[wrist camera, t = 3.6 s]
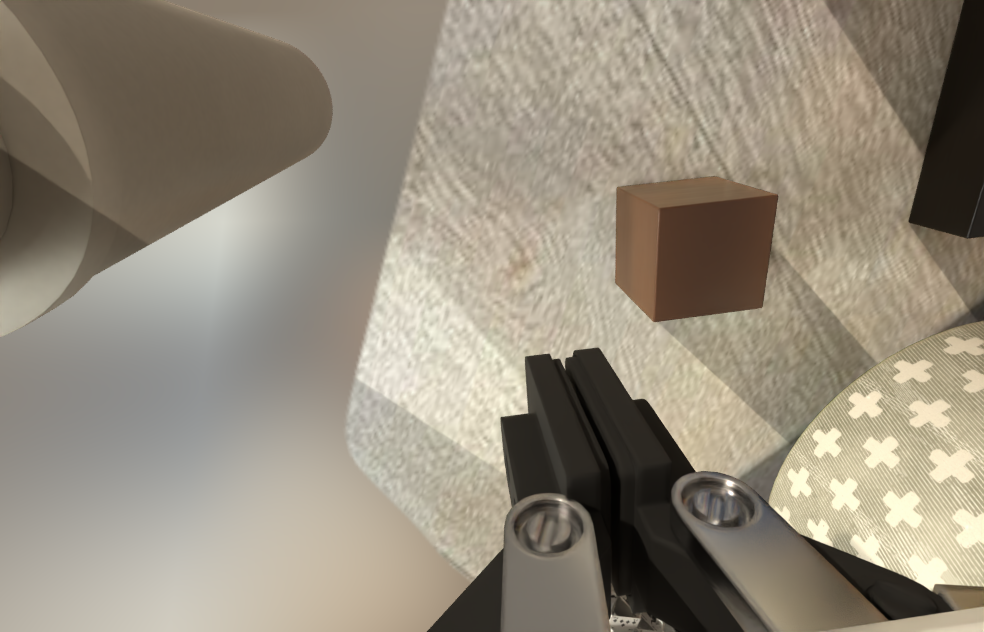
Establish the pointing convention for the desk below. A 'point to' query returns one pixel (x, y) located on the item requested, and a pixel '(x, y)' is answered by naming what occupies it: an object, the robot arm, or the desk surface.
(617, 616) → the house of cards
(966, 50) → the rail
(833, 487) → the planter
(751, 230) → the walnut block
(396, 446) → the desk surface
